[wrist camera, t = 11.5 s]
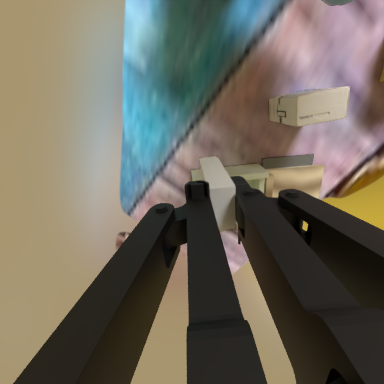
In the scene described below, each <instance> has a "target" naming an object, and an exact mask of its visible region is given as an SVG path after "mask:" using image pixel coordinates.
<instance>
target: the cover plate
mask: <svg viewBox="0 0 384 384" xmlns="http://www.w3.org/2000/svg"><path fill="white" fill-rule="evenodd" d="M324 168H325V165H322V164H318V165H307V166H295V167H284V168H272V169H266V170H267V171H268V172H269V178H265V183H264V195H265V196H266V197H278V193H279V192H280V191H281V190H284V189H296V190H300V191H303V192H305V193H307V194H309V195H311V196H313V197H315V198H317V199H318V198H319V193H320V188H321V183H322V178H323V173H324Z"/></svg>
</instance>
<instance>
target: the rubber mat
mask: <svg viewBox="0 0 384 384" xmlns="http://www.w3.org/2000/svg"><path fill="white" fill-rule="evenodd" d="M313 157H314V154H307V155H296V156H286V157H275V158H265V159H262V167H263V168H264V169H272V168H284V167H295V166H307V165H312V163H313Z"/></svg>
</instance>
